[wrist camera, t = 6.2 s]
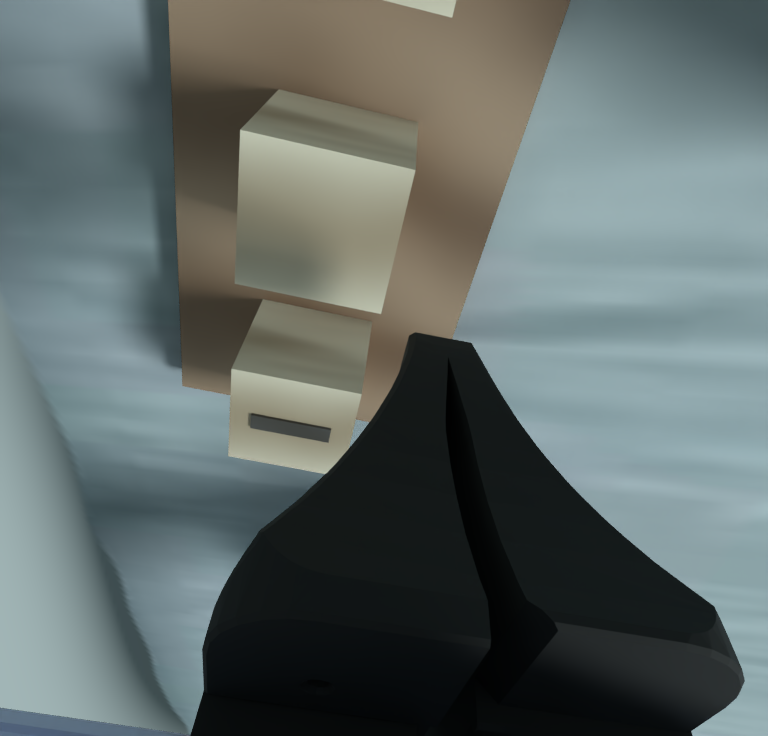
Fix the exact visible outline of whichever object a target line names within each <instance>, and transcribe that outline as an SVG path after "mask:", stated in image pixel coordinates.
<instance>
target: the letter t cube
mask: <svg viewBox="0 0 768 736" xmlns="http://www.w3.org/2000/svg"><path fill="white" fill-rule="evenodd" d="M384 1H388V2H392V3H396V4H400V5H404V6H408V7H412V8H416V9H420V10H424V11H428V12H431V13H435V14H439V15H443V16H447V17H451V18H452V16H453V12H454V8H455V4H456V0H384Z"/></svg>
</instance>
